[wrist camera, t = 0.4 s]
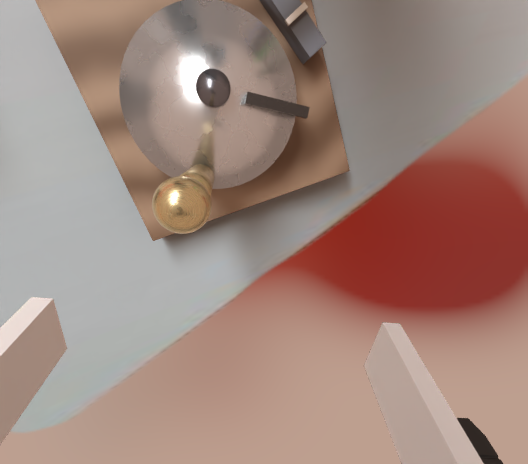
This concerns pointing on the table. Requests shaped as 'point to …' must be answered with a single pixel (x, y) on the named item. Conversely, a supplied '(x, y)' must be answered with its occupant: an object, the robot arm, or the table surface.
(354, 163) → the table surface
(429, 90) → the table surface
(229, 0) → the walnut stand
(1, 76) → the table surface
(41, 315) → the robot arm
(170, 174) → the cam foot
